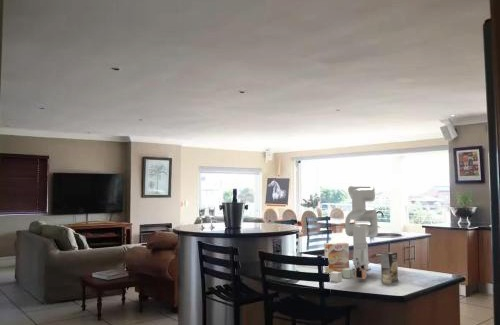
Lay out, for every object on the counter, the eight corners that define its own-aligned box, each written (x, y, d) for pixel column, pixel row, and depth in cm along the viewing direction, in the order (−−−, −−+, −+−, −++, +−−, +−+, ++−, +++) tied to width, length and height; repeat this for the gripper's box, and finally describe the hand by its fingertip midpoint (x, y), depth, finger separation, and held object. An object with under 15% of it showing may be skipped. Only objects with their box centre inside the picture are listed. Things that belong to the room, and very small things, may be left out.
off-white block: (334, 279, 260) (333, 271, 260) (341, 280, 257) (341, 272, 257) (330, 281, 256) (330, 272, 256) (338, 281, 253) (337, 273, 253)
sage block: (345, 275, 271) (345, 268, 272) (353, 276, 268) (352, 268, 269) (342, 277, 267) (342, 269, 268) (350, 278, 264) (349, 269, 265)
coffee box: (391, 281, 251) (390, 254, 253) (381, 280, 256) (380, 253, 257) (398, 279, 258) (397, 252, 259) (388, 277, 262) (387, 251, 264)
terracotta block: (358, 276, 258) (358, 268, 259) (366, 277, 255) (366, 268, 256) (355, 277, 254) (355, 269, 255) (363, 278, 251) (363, 270, 252)
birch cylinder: (384, 281, 250) (383, 273, 251) (392, 282, 247) (392, 274, 248) (381, 283, 246) (380, 274, 247) (389, 284, 243) (389, 275, 244)
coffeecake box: (328, 274, 278) (327, 244, 280) (324, 272, 285) (323, 243, 286) (350, 273, 281) (348, 243, 282) (345, 271, 288) (344, 242, 289)
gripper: (359, 244, 265) (360, 273, 264) (348, 247, 251) (349, 278, 250) (371, 244, 261) (372, 274, 259) (360, 248, 247) (361, 279, 246)
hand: (360, 276), depth 255 cm, fingers closed on terracotta block, 5 cm apart
